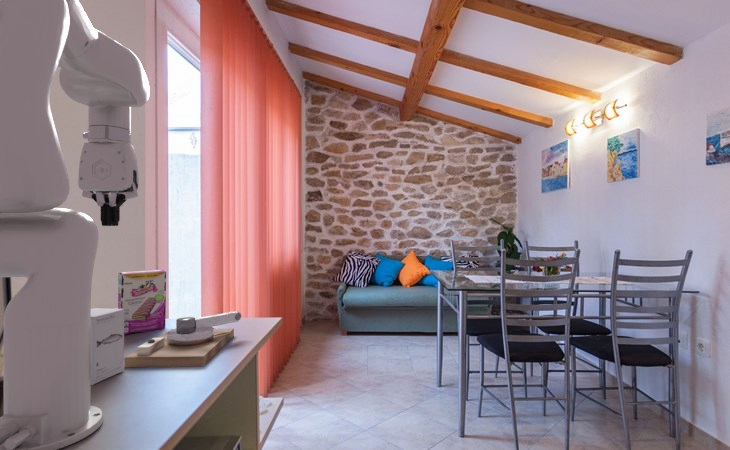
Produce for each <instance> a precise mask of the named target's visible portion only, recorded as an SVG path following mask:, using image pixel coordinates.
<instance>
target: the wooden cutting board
mask: <svg viewBox="0 0 730 450" xmlns="http://www.w3.org/2000/svg"><path fill="white" fill-rule="evenodd" d="M173 329H174V328H171V329H170V330H168V331H166V332H165V333H163V334H161V335H159V336H158V337H152V338H150V339H148V341H146V342H144V343H142V344H141V345H139V346H137V348H136V350H134V351H133V352H131V353H130V354H128V355H127V356H124V368H153V367H156V368H161V367H163V368H164V367H165V368H166V367H169V368H170V367H205V365H206V364H207V363H209V362H210V360H211V359H212V358H213V357H215V355H217V353H218V352H219V351H221V350H222V348H224V346H226V344H228V343H229V342H230V341H231V340H232V339H233V338H234V337H235V329H234V328H214V338H213V339H212V340H210V341H208V342H205V343H201V344H196V345H187V346H176V345H170V344H168V343H167V333H168V332H169V331H171V330H173ZM233 336H234V337H233Z"/></svg>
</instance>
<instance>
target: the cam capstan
mask: <svg viewBox="0 0 730 450" xmlns="http://www.w3.org/2000/svg"><path fill="white" fill-rule="evenodd" d="M240 320H242V313H241V312H239V311H228V312H224V313H218V314H212V315H206V316H201V317H193V316H188V317H187V316H185V317H180V318H177V319H176V321H175V322H176V323H175V324H176V325H175V326H176V328H172V329H173V330H171V329H170V330H171V331H170V330H168V331H169V332H168V331H167V332H168V333H167V343H168V344H170V345H176V346H187V345H196V344H201V343H205V342H208V341H210V340H212V339H213V338H214V329H215V328H214V327H218V326H222V325H227V324H232V323H238V322H239V321H240Z"/></svg>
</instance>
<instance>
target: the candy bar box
mask: <svg viewBox="0 0 730 450" xmlns="http://www.w3.org/2000/svg"><path fill="white" fill-rule="evenodd" d="M117 276H118V278H117V281H118V283H117V309H124V336H125V335H130V334H136V333H143V332H145V333H146V332H150V331H156V330H163V329H166V313H167V311H166V306H167V305H166V304H167V301H166V300H167V299H166V298H167V296H166V294H167V271H166V270H163V269H153V270H150V269H149V270H138V271H136V270H135V271H121V272H118V275H117Z"/></svg>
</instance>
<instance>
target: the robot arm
mask: <svg viewBox="0 0 730 450" xmlns="http://www.w3.org/2000/svg"><path fill="white" fill-rule="evenodd" d="M59 67H60V69H59V75H58V78H59V80H58V81H59V84H60V87H61V89H62V90H63V92H64V94H66V96H68V97H69V99H71V100H72V101H74V102H76V103H79V104H82V105H85V106H87V107H88V112H87V113H88V116H87V117H88V120H87V121H88V123H87V124H88V128H87V132H83V134H82V137H83V139H84V140H87V141H88V142H84V143H83V146H82V149H81V153H80V158H79V166H78V175H77V176H78V179H77V181H78V182H77V184H78V188H79V189H80V190H82V193H81V195H82V197H83V198H86V199H92V200H94V202H96V204H97V206H98V207H100V222H101V227H102V226H103V227H115V226H116V227H118V226H119V222H120V219H121V216H120V211H121V209H120V208H121V207H123V204H124V203H125V202H127V200H130V199H134V198H135V199H136V198H138V196H139V195H138V188H139V167H138V160H137V155H136V150H135V146H133V145H132V108H141V107H143V106H145V105H146V104H147V102H148V100H149V98H150V84H149V80H148V77H147V74H146V72H145V70H144V67H143V65H142V63H141V61H140V59H139V58H138V56H137V55H136V54H135V52H133V51H132V50H131V49H129V48H127V46H125V45H124V44H121V43H120V42H118V41H117V40H115V39H113V38H112V37H111V36H108V35H107V34H106V33H104V32H102V31H100V30H98V29H96V28H94V27H93V24H92V23H91V21H90V19H89V17H88V15H87V13H86V11H84V8H83V6H82V4H81V3H80V1H79V0H0V278H26V279H27V280H26V282H25V283H24V284H23V286H22V287H21V288H20V289H19V290H18V292H16V293H15V295H14V296H13V297H12V298H10V300H9V302H8V304H7V306H6V307H5V310H4V313H3V328H2V329H3V415H2V416H0V450H59V449H62V448H66V447H68V446H71V445H73V444H76V443H77V442H80V441H81V440H83V439H86V438H87V437H88V436H90V435H92V434H93V433H94V432H96V431H97V430H98V429H99V428H100V427H101V425H102V424H103V422H104V412H103V409H101V408H100V407H97V406H95V405H91V395H92V394H91V392H92V390H91V386H92V385H91V309H92V308H91V307H92V303H91V302H92V284H93V283H92V282H93V281H92V280H93V274H94V268H95V260H96V257H97V256H96V255H97V252H98V246H99V230H98V226H97V223H96V222H95V221H94V219H93V218H92V217H90V216H89V215H88V214H86V213H84V212H82V211H80V210H76V209H71V208H66V207H64V208H63V207H61V206H62V205H63V204H64V203H65V202H66V201H67V199H68V196H69V194H70V179H69V173H68V168H67V164H66V161H65V158H64V155H63V150H62V147H61V144H60V140H59V137H58V136H59V135H58V133H57V129H56V126H55V122H54V119H53V114H52V111H51V104H50V100H51V99H50V98H51V90H52V84H53V81H54V78H55V75H56V73H57V69H58V68H59Z"/></svg>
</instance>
